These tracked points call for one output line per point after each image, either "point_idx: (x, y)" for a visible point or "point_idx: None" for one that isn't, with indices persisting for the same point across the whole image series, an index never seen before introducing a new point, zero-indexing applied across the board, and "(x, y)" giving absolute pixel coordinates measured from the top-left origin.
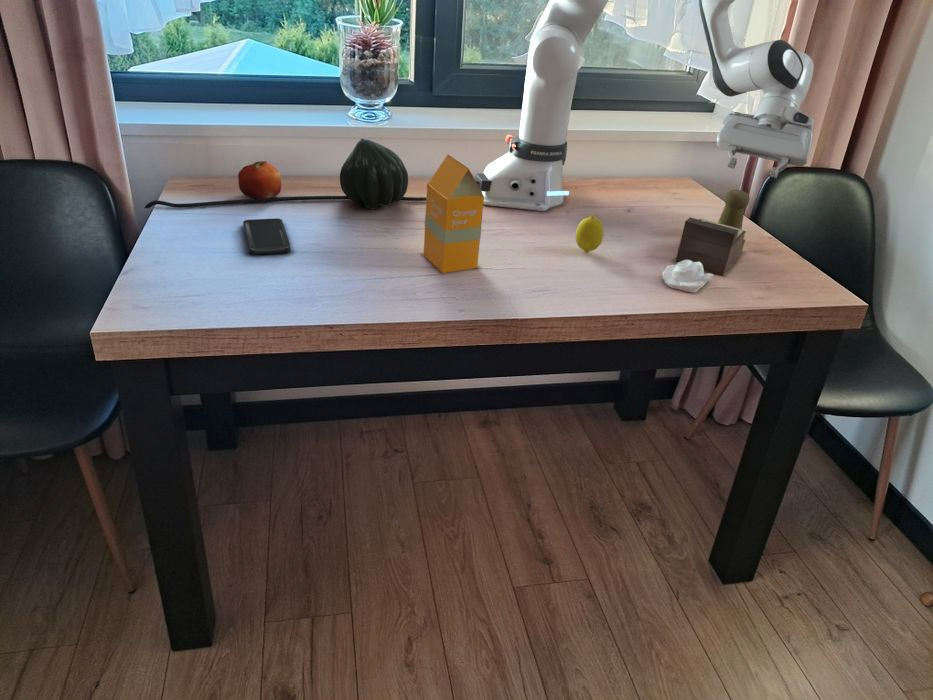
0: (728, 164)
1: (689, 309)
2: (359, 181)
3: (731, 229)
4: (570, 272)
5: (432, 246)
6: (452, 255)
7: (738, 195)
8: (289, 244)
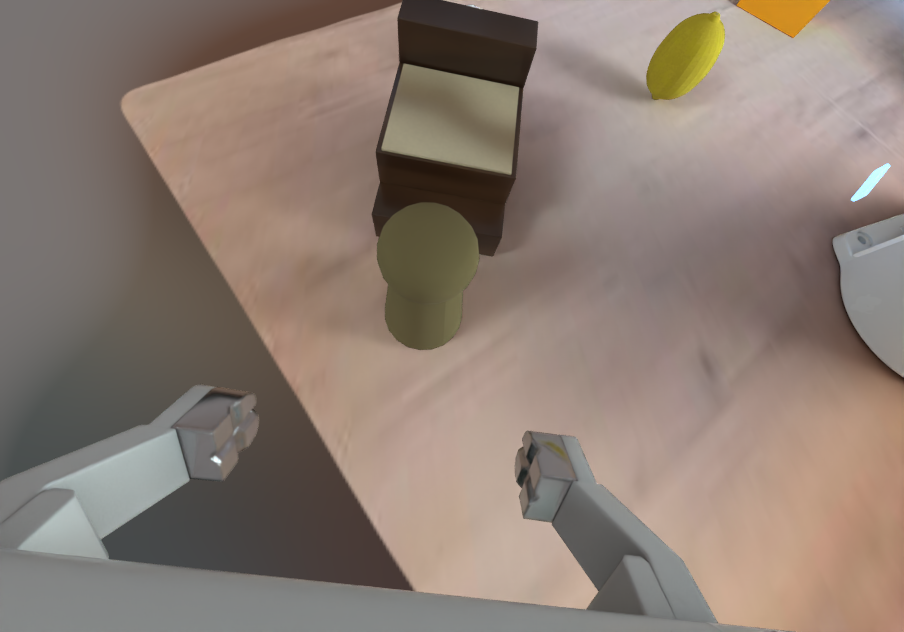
0: (565, 436)
1: None
2: None
3: (416, 14)
4: (635, 32)
5: None
6: None
7: (427, 204)
8: None
